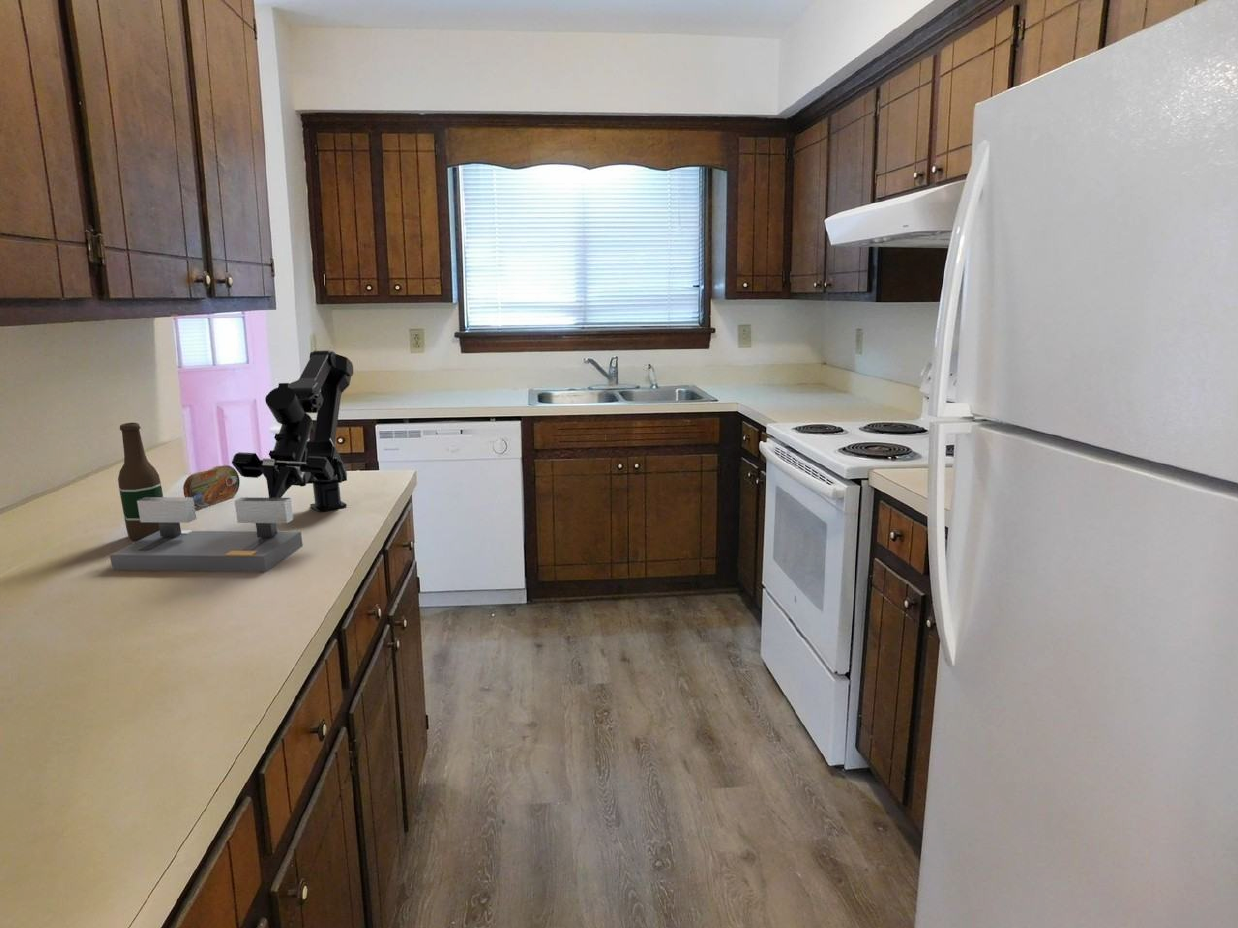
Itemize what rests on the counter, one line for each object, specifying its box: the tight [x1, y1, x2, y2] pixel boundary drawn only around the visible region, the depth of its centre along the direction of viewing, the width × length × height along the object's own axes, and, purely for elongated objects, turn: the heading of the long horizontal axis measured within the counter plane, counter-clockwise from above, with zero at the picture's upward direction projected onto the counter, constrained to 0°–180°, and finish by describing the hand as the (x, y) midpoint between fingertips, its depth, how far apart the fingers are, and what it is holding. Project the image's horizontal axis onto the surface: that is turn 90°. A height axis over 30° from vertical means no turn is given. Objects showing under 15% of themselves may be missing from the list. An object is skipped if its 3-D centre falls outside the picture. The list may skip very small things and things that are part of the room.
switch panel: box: [109, 529, 304, 573], centre depth 152 cm, size 14×30×3 cm, turn 85°
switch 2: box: [234, 497, 294, 538], centre depth 154 cm, size 2×10×7 cm, turn 85°
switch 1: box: [137, 496, 197, 537], centre depth 155 cm, size 2×10×7 cm, turn 85°
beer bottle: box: [117, 422, 164, 542], centre depth 164 cm, size 8×8×24 cm
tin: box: [182, 464, 240, 509], centre depth 190 cm, size 15×3×8 cm, turn 162°
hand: (272, 503), depth 156 cm, fingers closed
